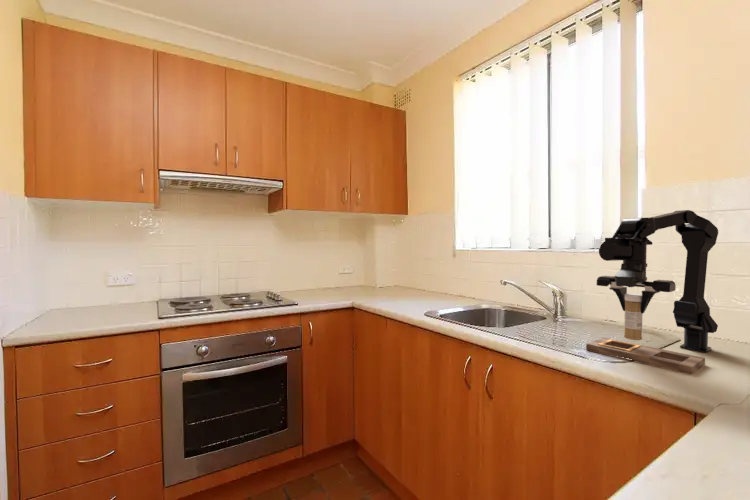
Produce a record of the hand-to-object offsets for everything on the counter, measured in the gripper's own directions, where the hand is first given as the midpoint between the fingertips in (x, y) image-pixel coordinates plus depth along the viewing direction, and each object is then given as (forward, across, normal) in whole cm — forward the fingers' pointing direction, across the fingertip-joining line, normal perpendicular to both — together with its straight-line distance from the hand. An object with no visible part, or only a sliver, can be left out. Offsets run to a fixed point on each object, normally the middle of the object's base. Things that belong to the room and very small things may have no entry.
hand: (633, 312), depth 111 cm
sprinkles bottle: (+8, 0, 0) cm, 8 cm away
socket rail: (+13, +2, 0) cm, 13 cm away
